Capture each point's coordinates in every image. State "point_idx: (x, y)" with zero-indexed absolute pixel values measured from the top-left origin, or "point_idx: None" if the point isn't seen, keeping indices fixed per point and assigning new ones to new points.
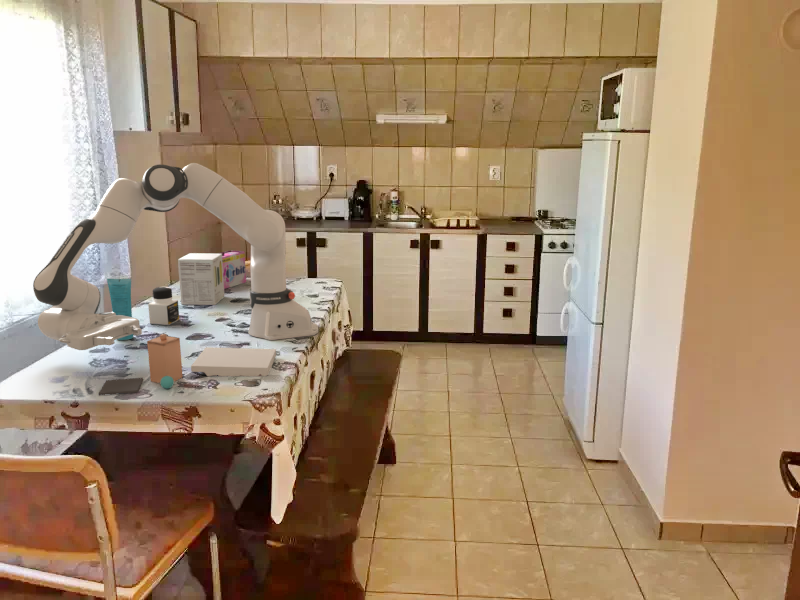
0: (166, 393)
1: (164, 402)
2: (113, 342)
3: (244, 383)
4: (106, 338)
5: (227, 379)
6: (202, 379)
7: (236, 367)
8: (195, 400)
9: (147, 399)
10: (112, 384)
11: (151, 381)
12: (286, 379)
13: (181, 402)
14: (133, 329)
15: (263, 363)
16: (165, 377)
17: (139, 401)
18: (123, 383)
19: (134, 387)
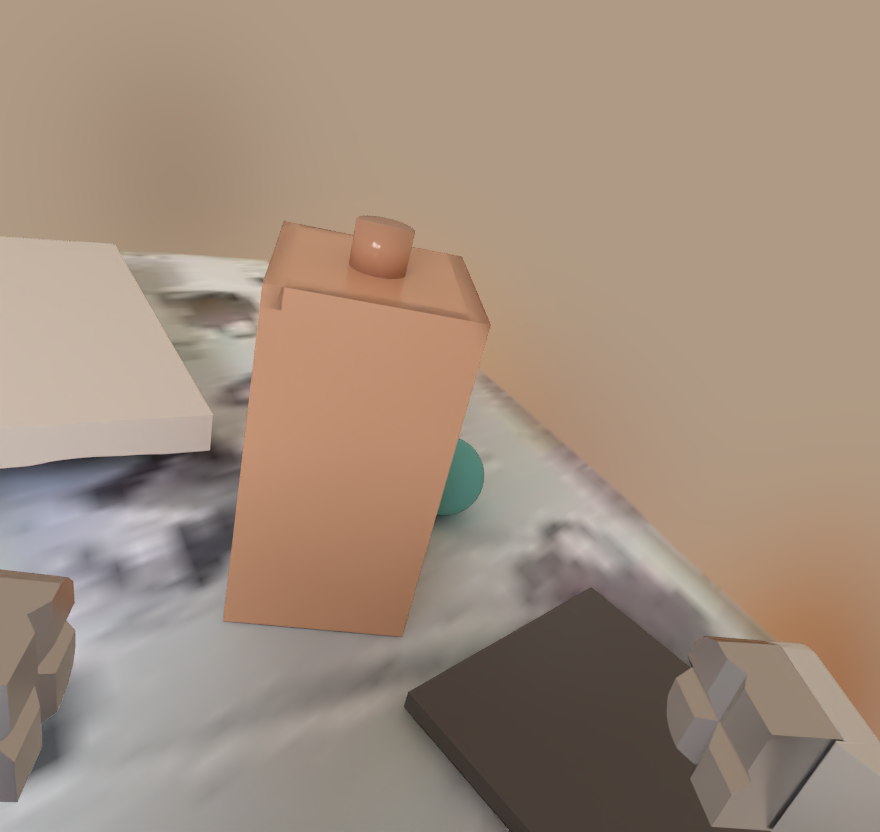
0: (491, 485)
1: (565, 456)
2: (695, 686)
3: (228, 319)
4: (849, 701)
5: (200, 360)
6: (238, 429)
7: (144, 298)
8: (473, 389)
9: (600, 518)
10: (673, 815)
11: (401, 631)
12: (139, 252)
13: (520, 415)
14: (21, 664)
15: (54, 249)
16: (466, 444)
17: (642, 535)
18: (591, 747)
19: (578, 627)
